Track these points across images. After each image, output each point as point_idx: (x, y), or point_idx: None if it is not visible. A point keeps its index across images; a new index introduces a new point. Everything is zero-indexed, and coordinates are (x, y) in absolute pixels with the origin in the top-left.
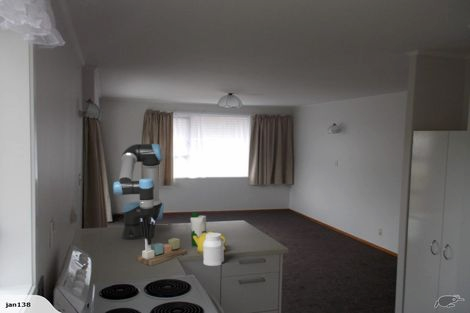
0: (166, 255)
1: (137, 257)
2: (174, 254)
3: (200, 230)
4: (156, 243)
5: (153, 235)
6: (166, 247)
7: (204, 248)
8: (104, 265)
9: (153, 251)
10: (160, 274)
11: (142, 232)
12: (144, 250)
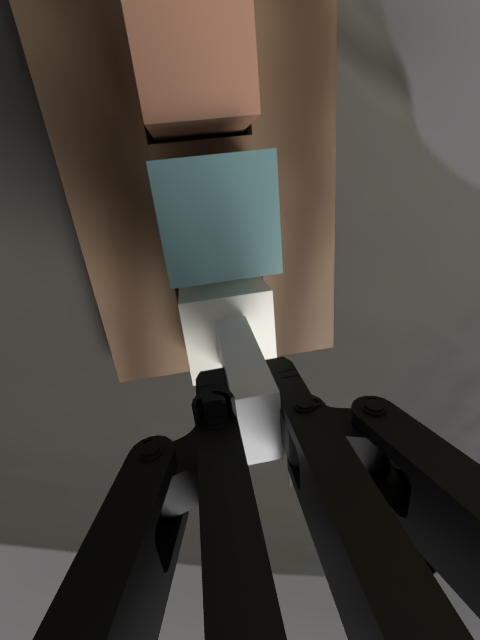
0: (312, 163)
1: (151, 374)
2: (333, 57)
3: None
4: (180, 207)
5: (414, 430)
6: (255, 87)
7: None
8: (86, 524)
9: (270, 297)
10: (473, 354)
11: (167, 580)
12: (199, 365)
